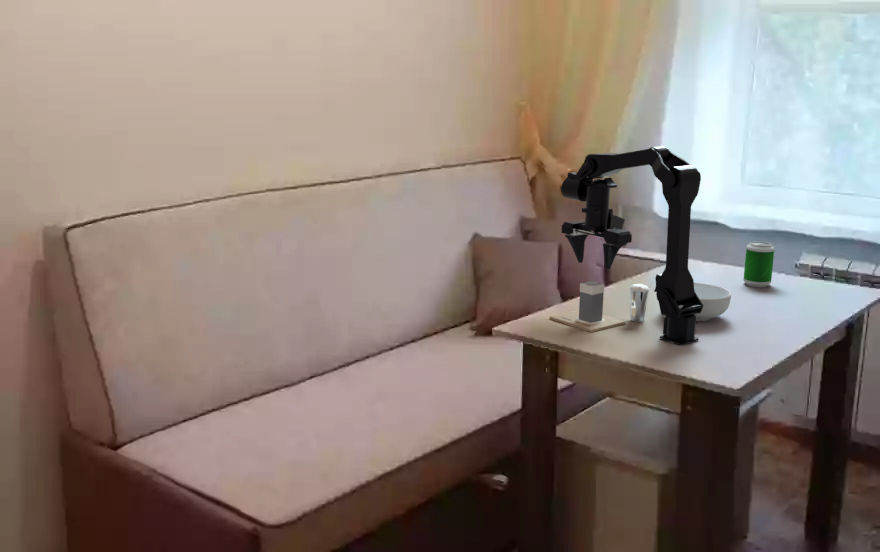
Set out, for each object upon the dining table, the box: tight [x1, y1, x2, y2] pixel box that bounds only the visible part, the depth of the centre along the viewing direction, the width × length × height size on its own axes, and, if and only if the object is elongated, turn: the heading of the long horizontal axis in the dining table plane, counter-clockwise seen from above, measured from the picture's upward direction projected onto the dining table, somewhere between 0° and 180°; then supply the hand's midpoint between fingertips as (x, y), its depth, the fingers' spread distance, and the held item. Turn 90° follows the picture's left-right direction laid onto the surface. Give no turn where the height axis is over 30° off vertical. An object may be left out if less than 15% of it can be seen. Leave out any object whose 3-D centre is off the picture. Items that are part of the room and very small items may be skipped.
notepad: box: [549, 309, 626, 333], centre depth 235 cm, size 14×12×1 cm
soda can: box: [742, 241, 775, 288], centre depth 272 cm, size 8×8×12 cm
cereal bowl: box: [679, 282, 732, 322], centre depth 240 cm, size 17×17×7 cm
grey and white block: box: [578, 280, 605, 323], centre depth 233 cm, size 4×4×9 cm
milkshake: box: [629, 281, 654, 323], centre depth 235 cm, size 5×5×10 cm
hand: (594, 266), depth 240 cm, fingers open, 9 cm apart
